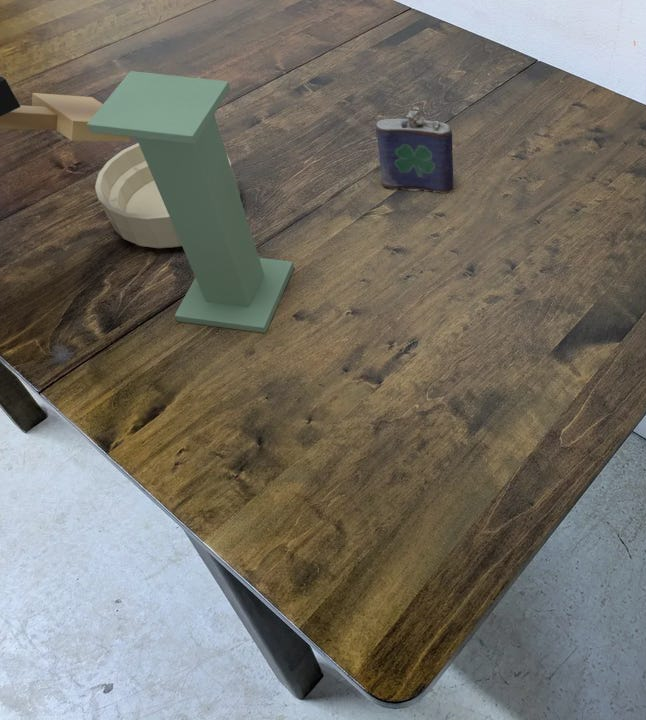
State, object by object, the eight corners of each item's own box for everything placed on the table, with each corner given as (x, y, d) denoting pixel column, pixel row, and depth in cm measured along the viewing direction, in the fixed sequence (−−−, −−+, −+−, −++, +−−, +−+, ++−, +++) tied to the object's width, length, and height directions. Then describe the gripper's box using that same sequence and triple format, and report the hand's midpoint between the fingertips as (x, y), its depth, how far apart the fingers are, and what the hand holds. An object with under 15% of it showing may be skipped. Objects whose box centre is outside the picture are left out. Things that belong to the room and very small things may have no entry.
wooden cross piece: (-117, 105, 61) (-118, 81, 60) (90, 115, 76) (92, 96, 75) (-77, 138, 59) (-77, 113, 58) (130, 142, 73) (132, 123, 72)
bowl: (91, 245, 85) (71, 209, 81) (146, 165, 94) (131, 129, 90) (214, 261, 84) (201, 225, 80) (258, 178, 93) (248, 142, 89)
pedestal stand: (177, 321, 78) (80, 123, 59) (211, 257, 84) (134, 57, 65) (265, 333, 78) (198, 136, 58) (294, 267, 84) (242, 69, 64)
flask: (380, 189, 92) (372, 115, 84) (384, 174, 94) (377, 100, 86) (452, 194, 92) (451, 121, 83) (455, 180, 94) (454, 106, 85)
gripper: (-296, 216, 59) (-19, 92, 70) (-220, 305, 53) (68, 155, 65) (-382, 138, 53) (-64, 16, 64) (-306, 229, 47) (28, 78, 59)
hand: (2, 86), depth 65 cm, fingers closed on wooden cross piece, 2 cm apart
